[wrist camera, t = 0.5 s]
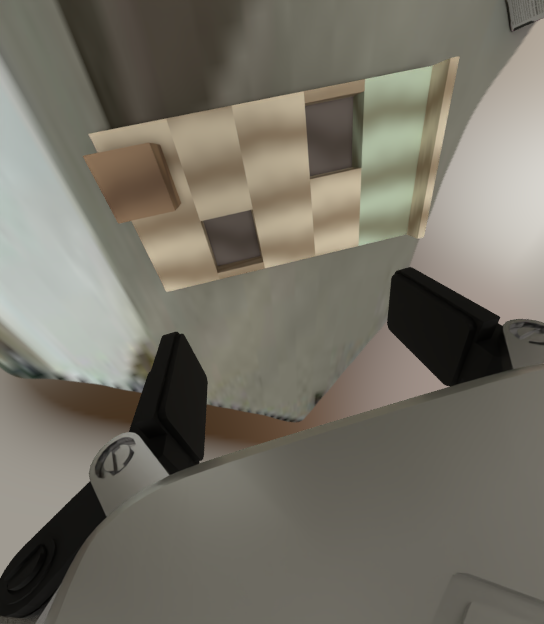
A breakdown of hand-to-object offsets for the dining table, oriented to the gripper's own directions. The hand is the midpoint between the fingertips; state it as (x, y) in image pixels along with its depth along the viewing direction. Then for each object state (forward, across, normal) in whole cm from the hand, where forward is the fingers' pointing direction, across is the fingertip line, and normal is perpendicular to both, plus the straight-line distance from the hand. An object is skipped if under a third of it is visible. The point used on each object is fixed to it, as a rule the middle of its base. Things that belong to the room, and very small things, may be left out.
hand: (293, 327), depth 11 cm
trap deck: (+28, -5, -1) cm, 29 cm away
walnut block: (+25, +10, -6) cm, 28 cm away
